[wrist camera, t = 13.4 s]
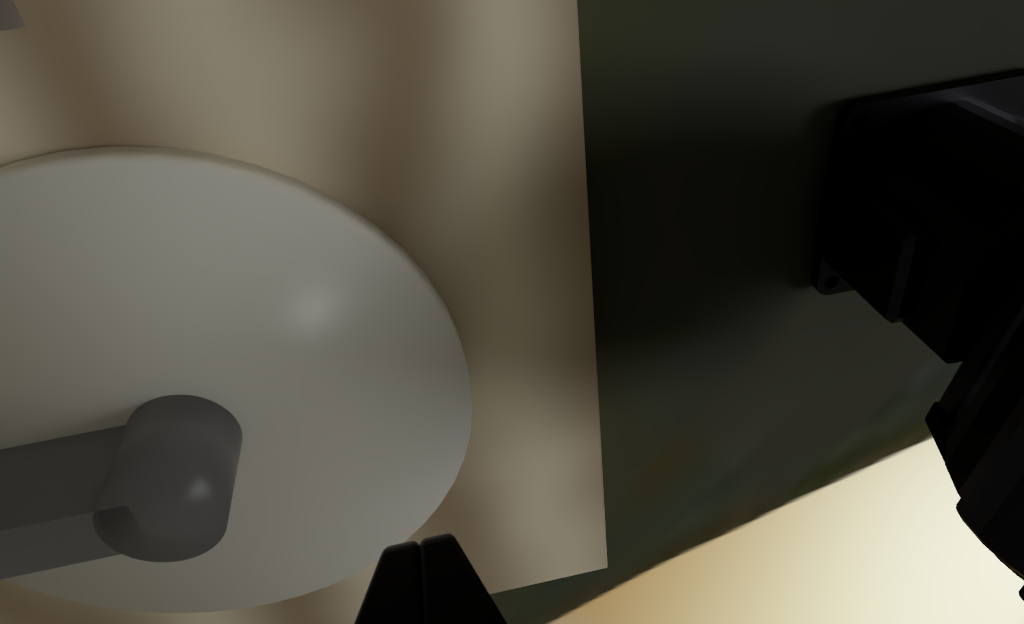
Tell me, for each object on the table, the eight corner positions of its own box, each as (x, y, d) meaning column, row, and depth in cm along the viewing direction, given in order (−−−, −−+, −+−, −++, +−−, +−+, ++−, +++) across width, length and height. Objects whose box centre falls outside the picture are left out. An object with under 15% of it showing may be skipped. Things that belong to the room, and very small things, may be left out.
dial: (416, 92, 17) (430, 158, 14) (497, 529, 26) (517, 631, 23) (-450, 235, 15) (-666, 348, 12) (-38, 645, 25) (-98, 772, 21)
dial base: (553, -137, 16) (571, -133, 15) (597, 537, 30) (608, 570, 29) (-633, 32, 14) (-734, 56, 13) (-2, 669, 28) (-19, 712, 27)
